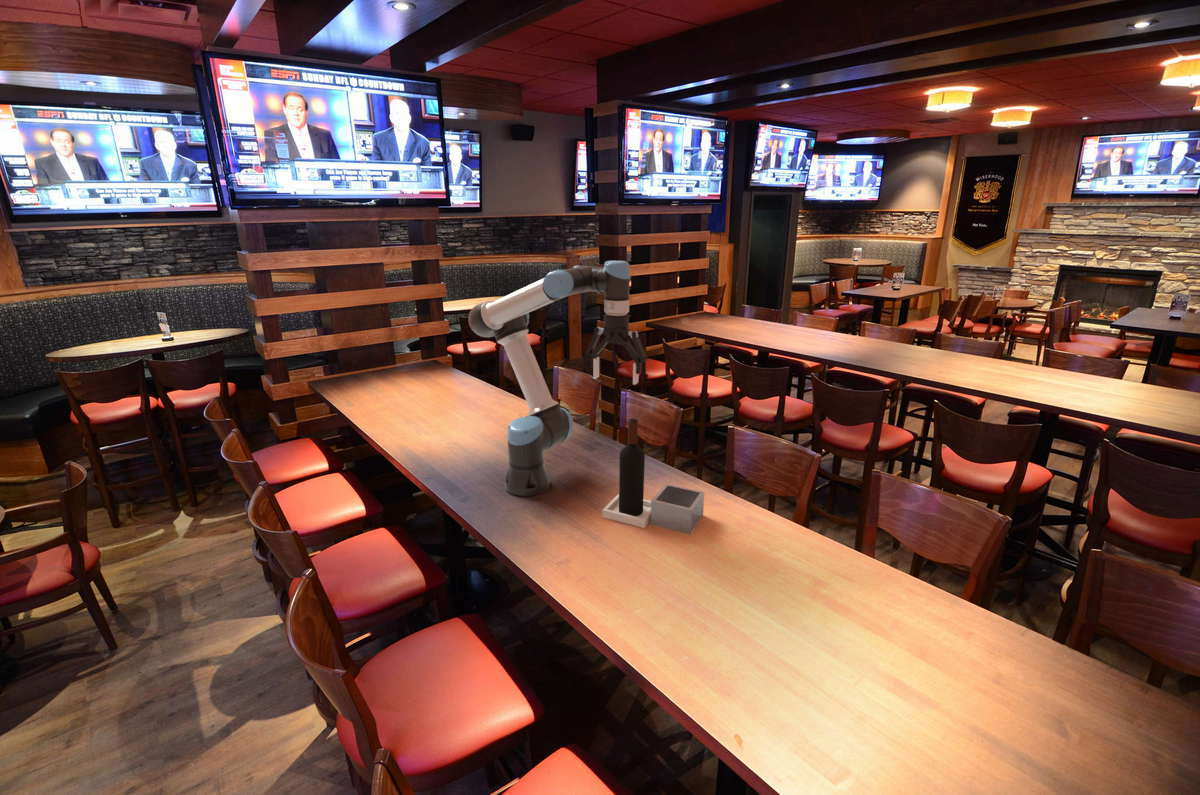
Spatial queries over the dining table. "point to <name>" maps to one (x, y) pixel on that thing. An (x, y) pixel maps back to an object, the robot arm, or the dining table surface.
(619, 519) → the tray
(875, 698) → the dining table surface
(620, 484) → the wine bottle
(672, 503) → the holder
